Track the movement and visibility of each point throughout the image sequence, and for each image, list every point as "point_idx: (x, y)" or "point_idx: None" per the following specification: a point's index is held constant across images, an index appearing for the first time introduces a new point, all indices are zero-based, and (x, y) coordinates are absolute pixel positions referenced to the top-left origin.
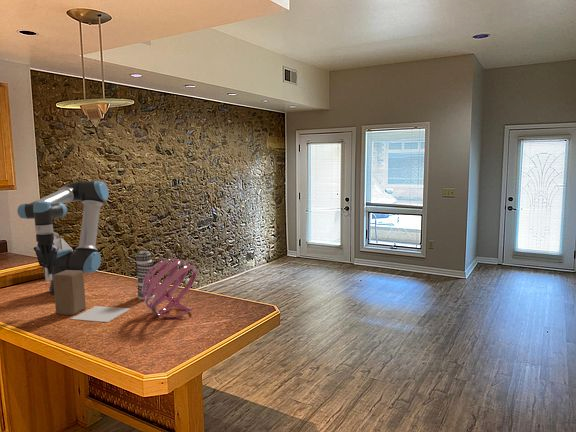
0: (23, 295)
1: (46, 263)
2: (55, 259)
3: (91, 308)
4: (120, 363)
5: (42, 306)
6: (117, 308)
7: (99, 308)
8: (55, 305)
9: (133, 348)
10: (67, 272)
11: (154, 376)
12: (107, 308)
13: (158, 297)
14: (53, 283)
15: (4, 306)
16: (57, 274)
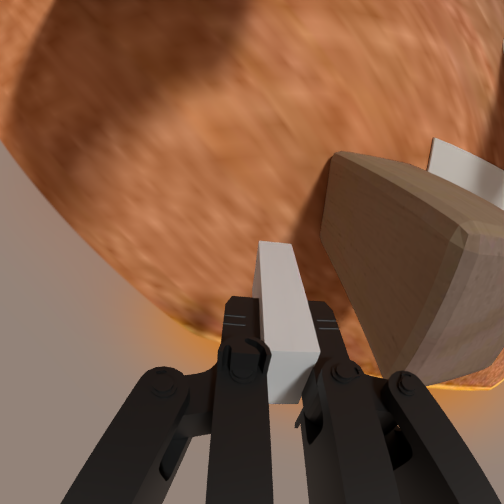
0: (8, 60)
1: (239, 419)
2: (457, 462)
3: (430, 168)
4: (478, 384)
5: (168, 140)
6: (497, 175)
7: (455, 170)
8: (330, 259)
9: (497, 356)
10: (486, 331)
11: (495, 386)
12: (475, 172)
13: None
14: (368, 342)
15: (29, 178)
16: (425, 385)
